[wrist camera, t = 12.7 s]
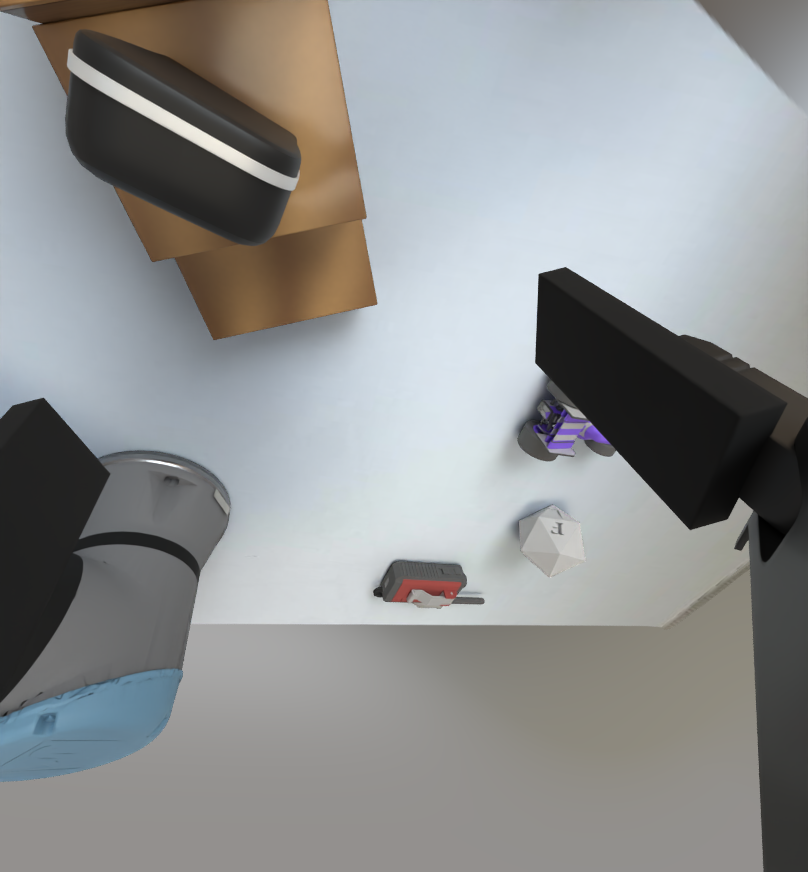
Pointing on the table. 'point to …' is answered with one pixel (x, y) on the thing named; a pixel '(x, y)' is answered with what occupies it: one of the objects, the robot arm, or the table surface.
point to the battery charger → (177, 139)
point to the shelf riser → (278, 101)
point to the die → (552, 540)
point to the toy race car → (560, 430)
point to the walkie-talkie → (424, 585)
